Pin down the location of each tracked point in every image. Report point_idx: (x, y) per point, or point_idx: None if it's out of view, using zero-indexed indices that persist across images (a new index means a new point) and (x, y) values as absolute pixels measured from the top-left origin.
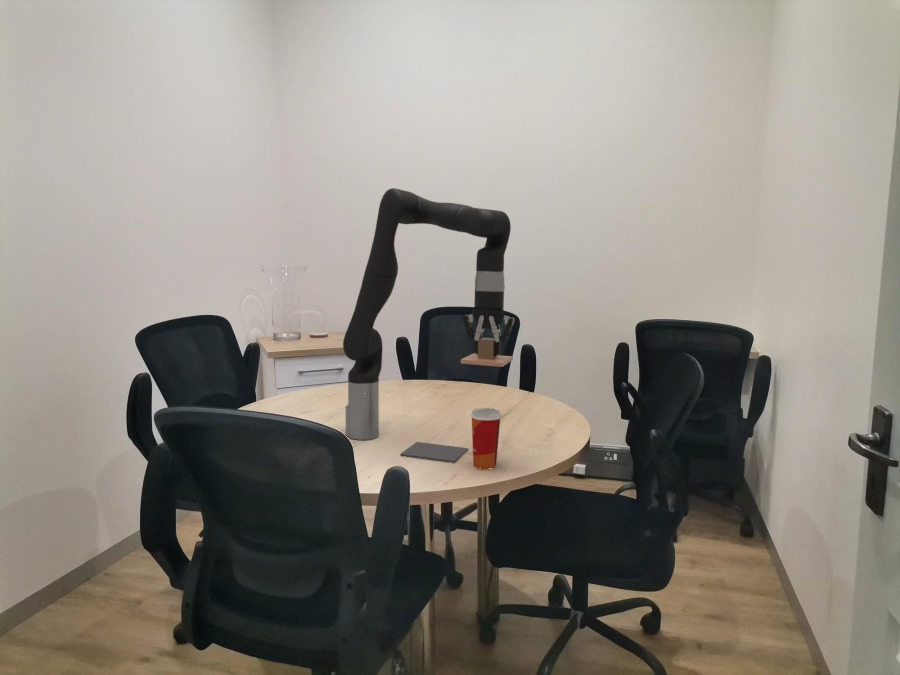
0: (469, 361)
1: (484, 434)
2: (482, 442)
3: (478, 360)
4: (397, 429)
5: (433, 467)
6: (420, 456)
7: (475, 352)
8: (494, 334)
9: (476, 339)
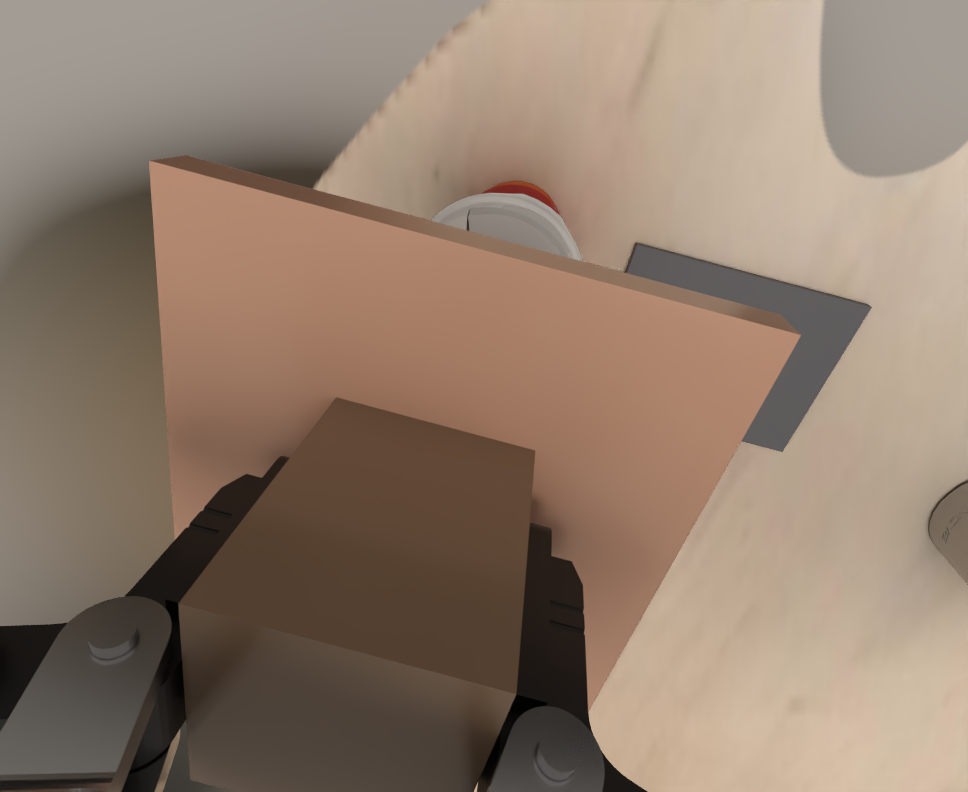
0: (658, 289)
1: (506, 192)
2: (518, 190)
3: (521, 305)
4: (839, 586)
5: (731, 178)
6: (783, 283)
7: (567, 561)
8: (89, 770)
9: (556, 734)
